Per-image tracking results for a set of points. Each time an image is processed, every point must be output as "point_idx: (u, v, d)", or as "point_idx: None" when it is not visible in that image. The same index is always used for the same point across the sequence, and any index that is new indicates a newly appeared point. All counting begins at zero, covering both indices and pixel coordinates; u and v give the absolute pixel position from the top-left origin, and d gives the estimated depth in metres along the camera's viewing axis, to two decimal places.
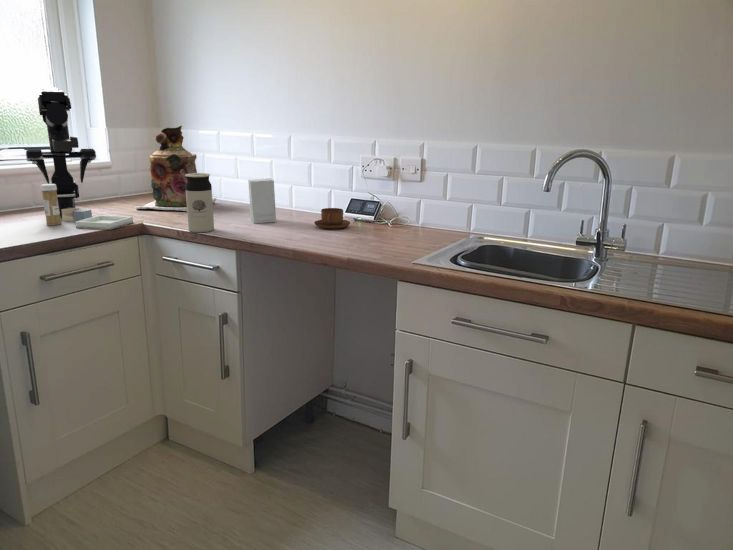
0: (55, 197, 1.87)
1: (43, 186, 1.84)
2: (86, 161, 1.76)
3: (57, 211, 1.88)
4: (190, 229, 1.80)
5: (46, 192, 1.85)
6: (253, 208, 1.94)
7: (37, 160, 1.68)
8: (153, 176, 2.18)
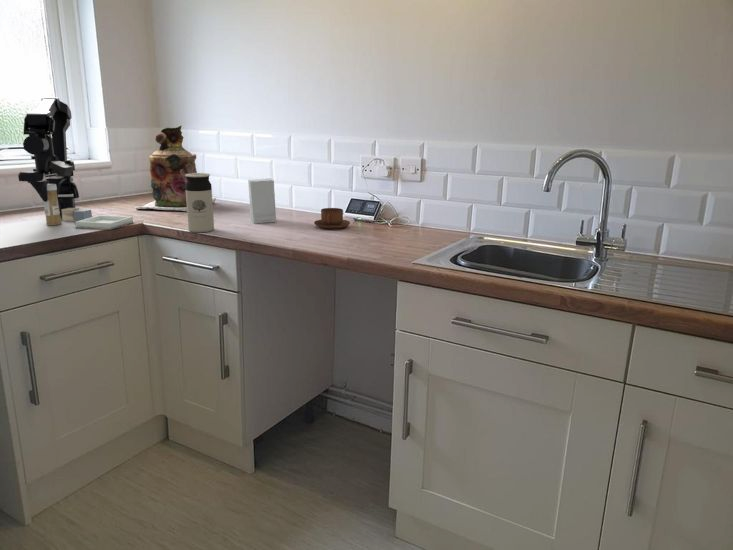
0: (55, 197, 1.87)
1: None
2: (62, 180, 1.89)
3: (57, 211, 1.88)
4: (190, 229, 1.80)
5: None
6: (253, 208, 1.94)
7: (45, 182, 1.81)
8: (153, 176, 2.18)
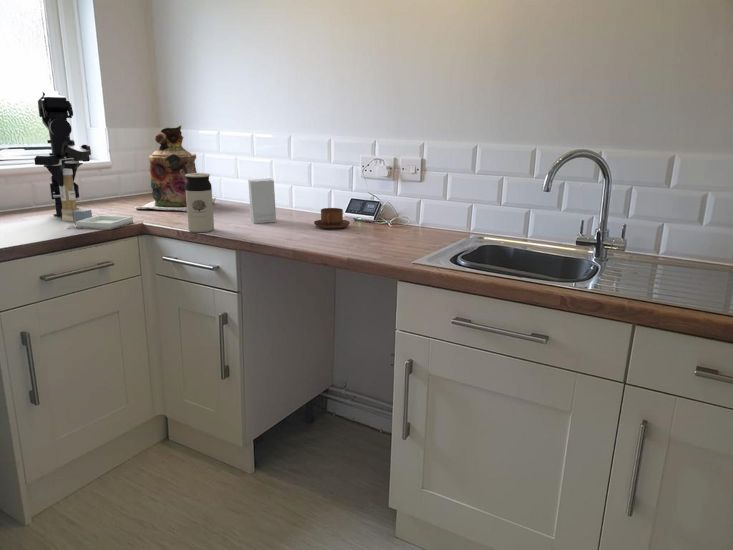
0: (71, 182, 1.85)
1: None
2: (79, 165, 1.88)
3: (73, 196, 1.86)
4: (190, 229, 1.80)
5: None
6: (253, 208, 1.94)
7: (61, 166, 1.79)
8: (153, 176, 2.18)
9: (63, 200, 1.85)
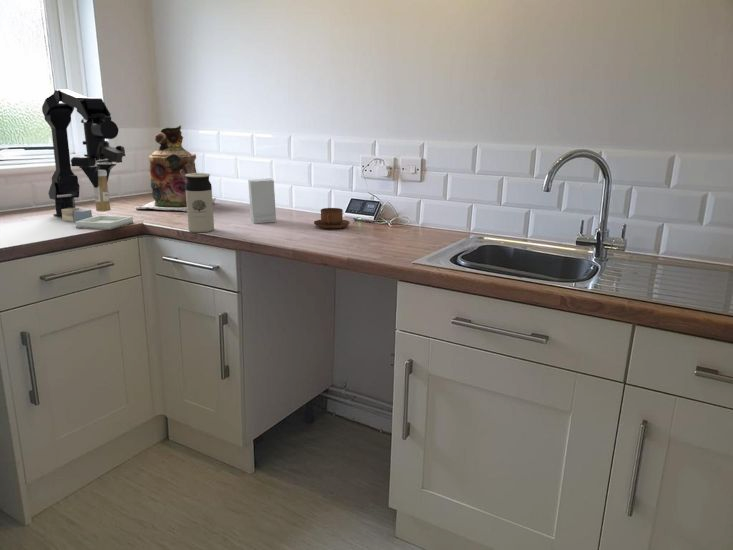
0: (105, 183, 1.86)
1: None
2: (112, 166, 1.88)
3: (107, 197, 1.87)
4: (190, 229, 1.80)
5: None
6: (253, 208, 1.94)
7: (97, 167, 1.80)
8: (153, 176, 2.18)
9: (97, 201, 1.86)
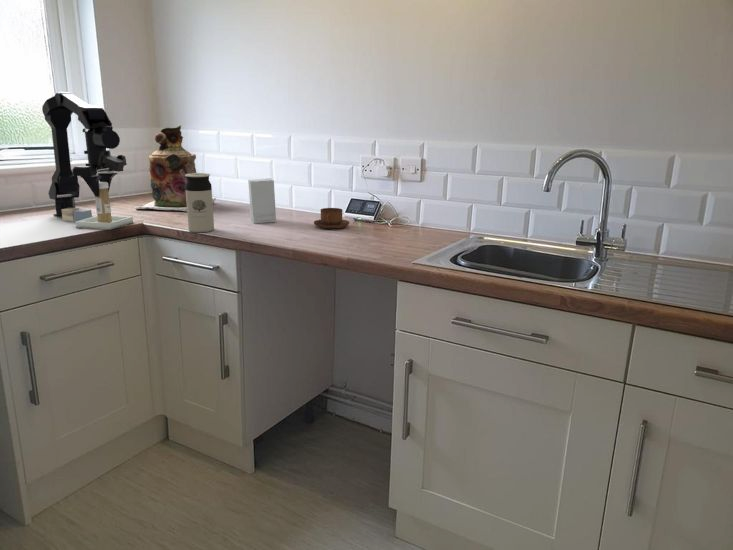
0: (107, 195, 1.87)
1: None
2: (114, 175, 1.89)
3: (109, 209, 1.88)
4: (190, 229, 1.80)
5: (99, 190, 1.85)
6: (253, 208, 1.94)
7: (98, 177, 1.80)
8: (152, 176, 2.18)
9: (99, 213, 1.87)
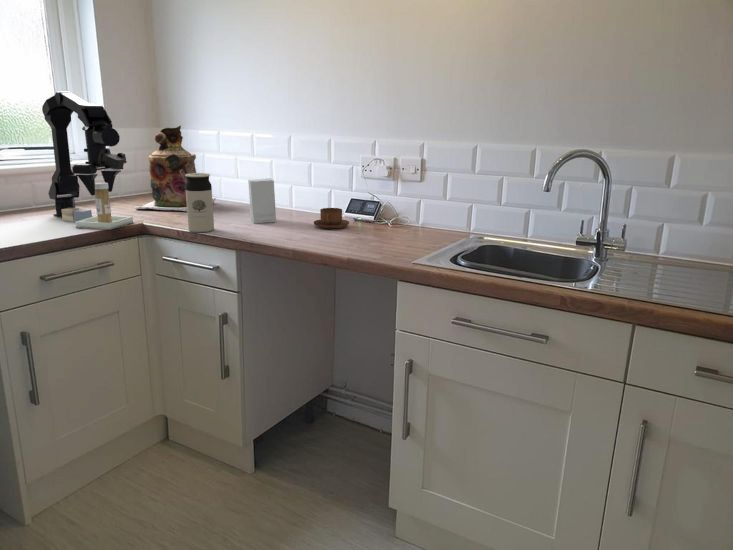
0: (107, 196, 1.87)
1: (96, 185, 1.84)
2: (117, 173, 1.91)
3: (109, 210, 1.88)
4: (190, 229, 1.80)
5: (99, 190, 1.85)
6: (253, 208, 1.94)
7: (94, 175, 1.78)
8: (152, 176, 2.18)
9: (99, 214, 1.87)
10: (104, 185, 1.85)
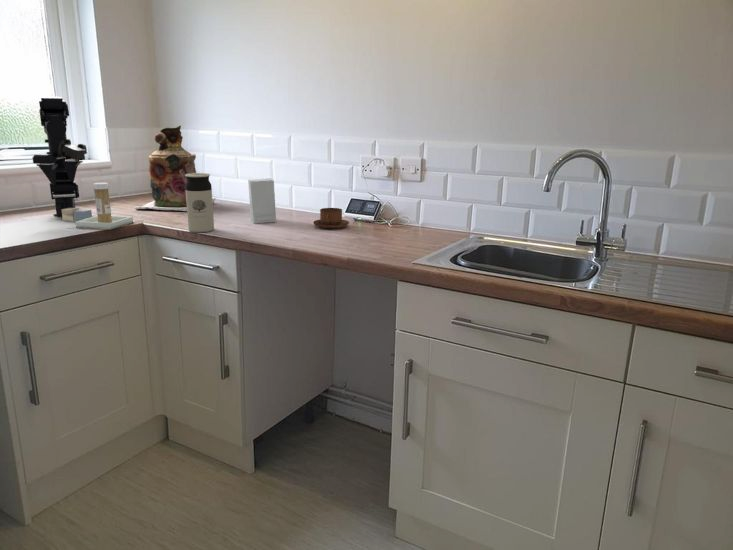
0: (107, 196, 1.87)
1: (96, 185, 1.84)
2: (79, 163, 1.97)
3: (109, 210, 1.88)
4: (190, 229, 1.80)
5: (99, 190, 1.85)
6: (253, 208, 1.94)
7: (53, 165, 1.84)
8: (152, 176, 2.18)
9: (99, 214, 1.87)
10: (104, 185, 1.85)
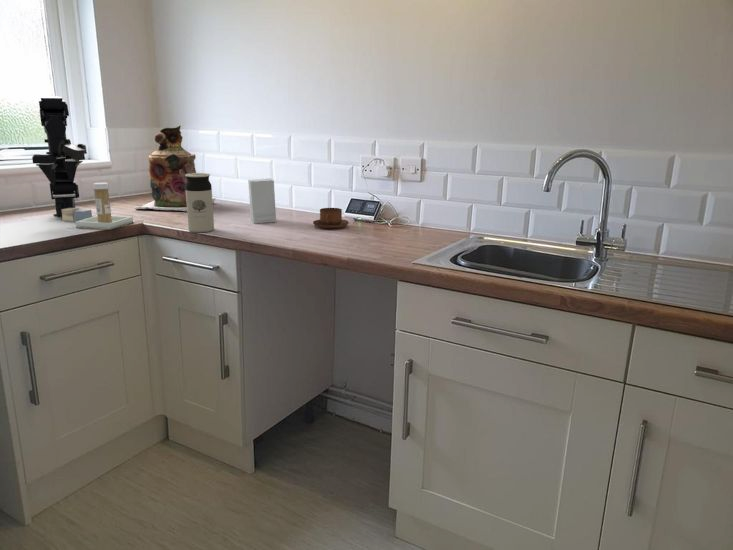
0: (107, 196, 1.87)
1: (96, 185, 1.84)
2: (79, 163, 1.97)
3: (109, 210, 1.88)
4: (190, 229, 1.80)
5: (99, 190, 1.85)
6: (253, 208, 1.94)
7: (53, 165, 1.84)
8: (152, 176, 2.18)
9: (99, 214, 1.87)
10: (104, 185, 1.85)
